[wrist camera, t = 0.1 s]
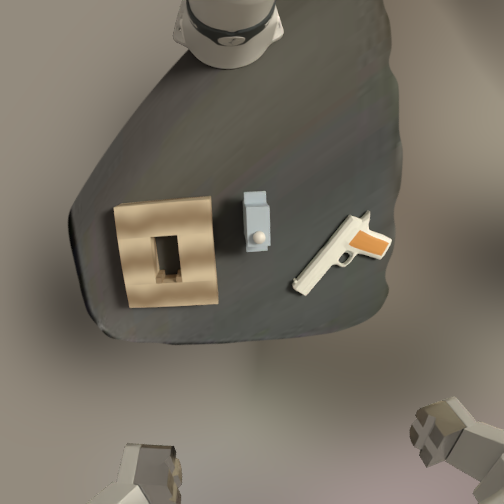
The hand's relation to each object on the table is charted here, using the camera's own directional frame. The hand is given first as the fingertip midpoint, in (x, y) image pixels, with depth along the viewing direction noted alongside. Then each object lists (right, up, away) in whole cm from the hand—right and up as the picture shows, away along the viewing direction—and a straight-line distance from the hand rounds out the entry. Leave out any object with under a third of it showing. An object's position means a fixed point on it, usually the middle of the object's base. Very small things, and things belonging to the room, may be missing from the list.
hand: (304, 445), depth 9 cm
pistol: (+16, +5, +51) cm, 54 cm away
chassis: (-16, +6, +47) cm, 50 cm away
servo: (-1, +12, +46) cm, 48 cm away
